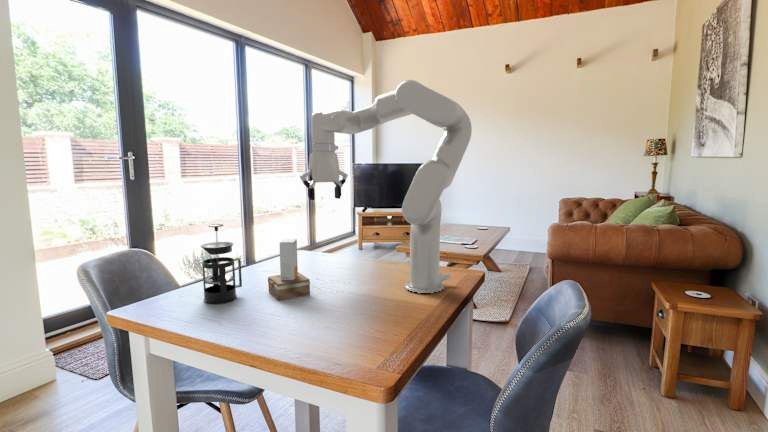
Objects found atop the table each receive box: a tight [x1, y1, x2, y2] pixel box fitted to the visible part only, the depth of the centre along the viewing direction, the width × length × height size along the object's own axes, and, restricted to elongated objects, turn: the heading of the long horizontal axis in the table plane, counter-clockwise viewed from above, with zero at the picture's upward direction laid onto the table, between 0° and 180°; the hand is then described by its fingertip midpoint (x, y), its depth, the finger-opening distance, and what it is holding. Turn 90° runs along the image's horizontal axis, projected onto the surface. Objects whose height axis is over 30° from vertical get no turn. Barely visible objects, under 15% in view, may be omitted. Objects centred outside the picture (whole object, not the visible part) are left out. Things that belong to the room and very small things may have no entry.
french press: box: [200, 223, 243, 305], centre depth 128 cm, size 12×9×23 cm
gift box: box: [267, 272, 311, 301], centre depth 134 cm, size 11×10×5 cm
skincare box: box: [279, 238, 299, 280], centre depth 133 cm, size 6×4×12 cm
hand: (324, 199), depth 147 cm, fingers open, 9 cm apart
